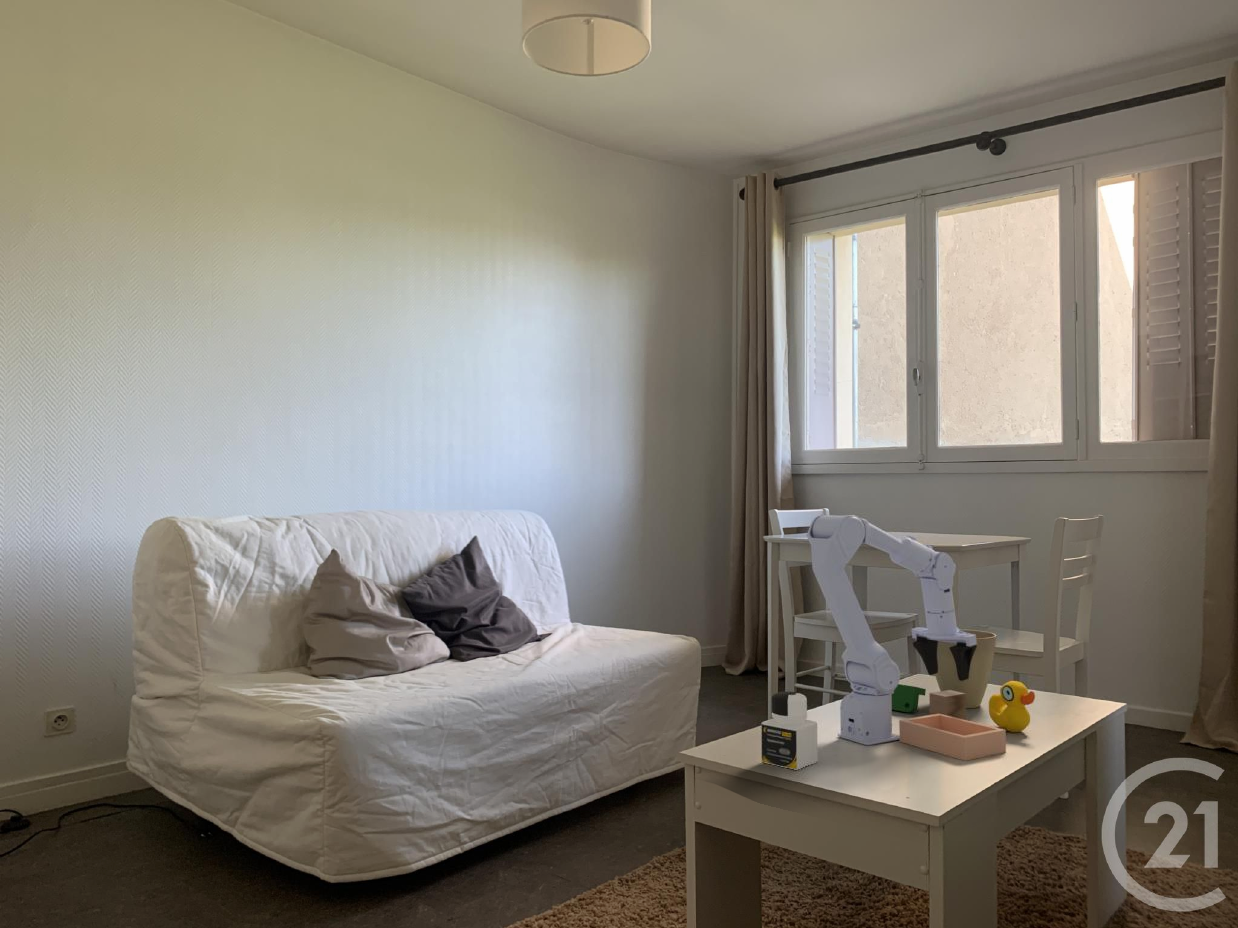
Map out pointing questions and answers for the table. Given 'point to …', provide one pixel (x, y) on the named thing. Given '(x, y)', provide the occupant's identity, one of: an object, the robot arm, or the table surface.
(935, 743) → the pink rectangular tray
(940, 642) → the plant pot
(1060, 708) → the table surface
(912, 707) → the clamp
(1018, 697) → the duckling
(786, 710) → the medicine bottle
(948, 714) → the tan wooden block
